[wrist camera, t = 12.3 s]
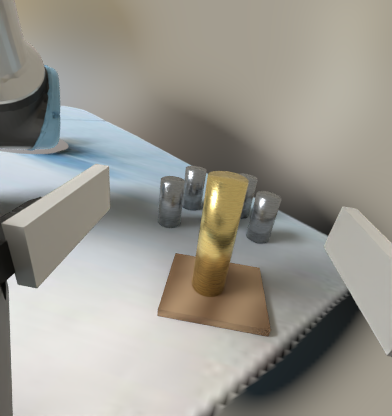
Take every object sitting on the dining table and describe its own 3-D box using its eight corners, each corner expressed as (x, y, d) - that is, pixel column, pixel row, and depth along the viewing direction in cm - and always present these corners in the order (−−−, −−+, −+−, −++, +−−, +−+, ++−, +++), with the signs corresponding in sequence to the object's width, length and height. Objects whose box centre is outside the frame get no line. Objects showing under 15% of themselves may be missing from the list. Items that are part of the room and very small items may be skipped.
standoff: (189, 293, 29) (206, 181, 23) (194, 270, 32) (209, 168, 26) (223, 299, 29) (250, 188, 22) (224, 276, 32) (247, 174, 26)
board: (157, 315, 27) (158, 309, 26) (174, 258, 36) (175, 253, 35) (268, 336, 26) (270, 330, 26) (257, 273, 35) (259, 267, 35)
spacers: (155, 225, 43) (158, 182, 40) (169, 198, 54) (173, 162, 50) (270, 245, 42) (283, 203, 39) (261, 213, 53) (271, 178, 49)
